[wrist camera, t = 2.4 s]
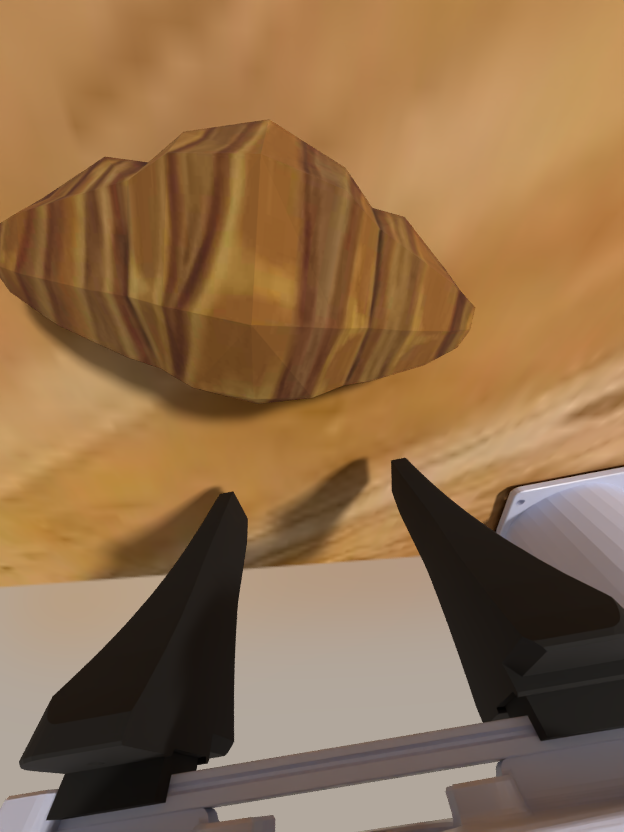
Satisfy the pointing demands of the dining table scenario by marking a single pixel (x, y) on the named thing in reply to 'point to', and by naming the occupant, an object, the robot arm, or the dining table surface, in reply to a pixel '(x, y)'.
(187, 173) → the croissant
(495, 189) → the dining table surface
